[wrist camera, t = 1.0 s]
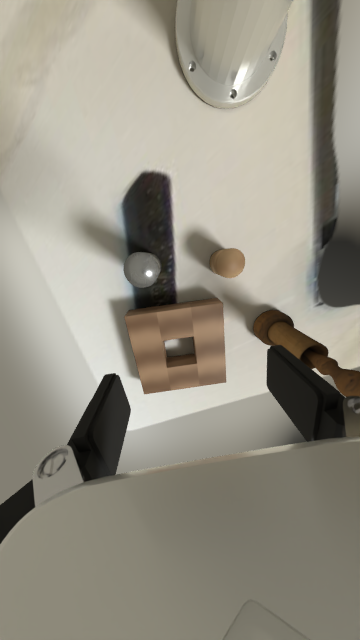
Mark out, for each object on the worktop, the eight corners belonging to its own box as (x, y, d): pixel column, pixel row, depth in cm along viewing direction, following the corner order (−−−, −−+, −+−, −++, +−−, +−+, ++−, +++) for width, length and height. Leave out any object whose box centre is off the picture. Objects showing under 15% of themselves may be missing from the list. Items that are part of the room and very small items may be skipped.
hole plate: (129, 310, 31) (124, 316, 28) (217, 297, 31) (222, 302, 28) (146, 381, 37) (144, 394, 34) (221, 371, 37) (226, 382, 34)
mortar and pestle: (250, 340, 35) (326, 420, 18) (255, 310, 33) (348, 368, 16) (282, 340, 35) (386, 417, 18) (289, 309, 33) (415, 365, 16)
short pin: (208, 251, 29) (216, 250, 24) (232, 247, 29) (245, 246, 24) (210, 276, 30) (217, 279, 25) (233, 272, 30) (245, 276, 25)
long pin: (134, 254, 28) (119, 254, 20) (159, 251, 28) (155, 249, 20) (139, 279, 30) (128, 289, 21) (163, 276, 30) (160, 285, 21)
